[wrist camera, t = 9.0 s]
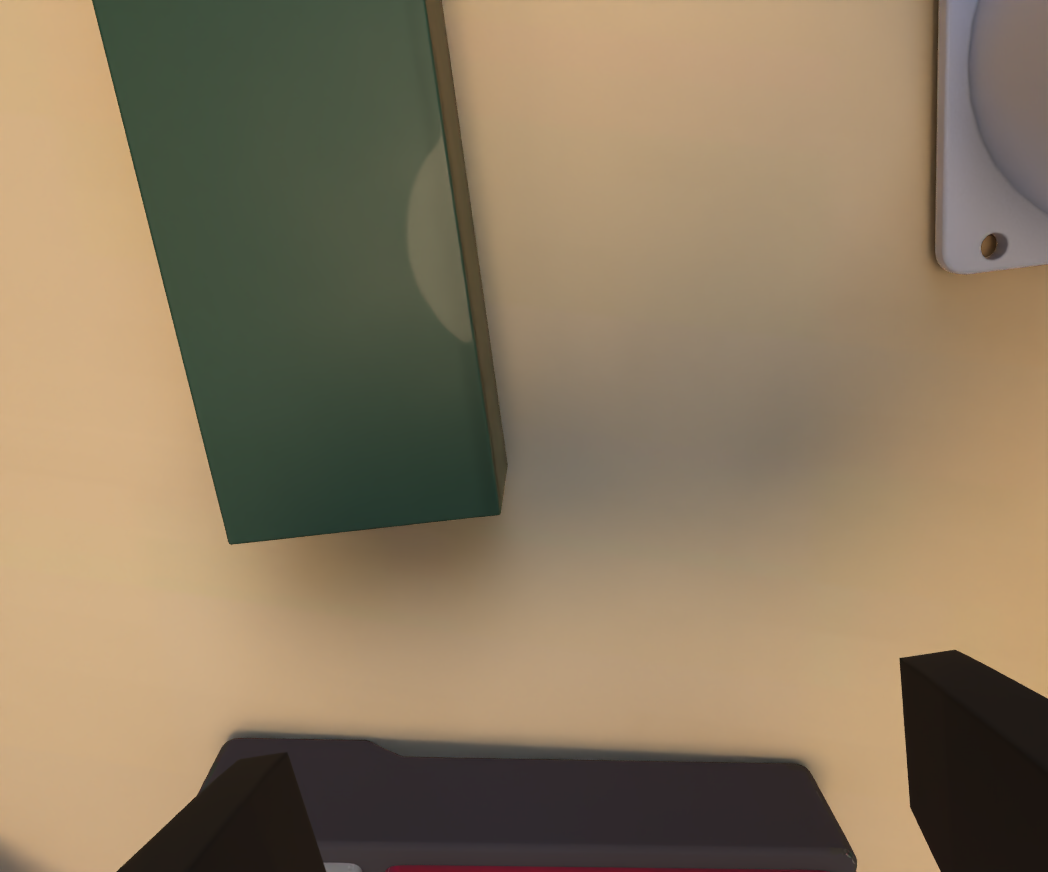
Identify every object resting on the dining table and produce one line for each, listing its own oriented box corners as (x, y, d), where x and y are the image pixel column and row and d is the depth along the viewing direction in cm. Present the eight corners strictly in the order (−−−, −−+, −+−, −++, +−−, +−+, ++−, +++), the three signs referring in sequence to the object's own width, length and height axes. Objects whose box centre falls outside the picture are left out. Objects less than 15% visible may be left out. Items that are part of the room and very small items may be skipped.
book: (507, 466, 18) (501, 515, 15) (277, 492, 18) (227, 545, 16) (403, -269, 14) (368, -389, 11) (114, -220, 15) (8, -324, 12)
